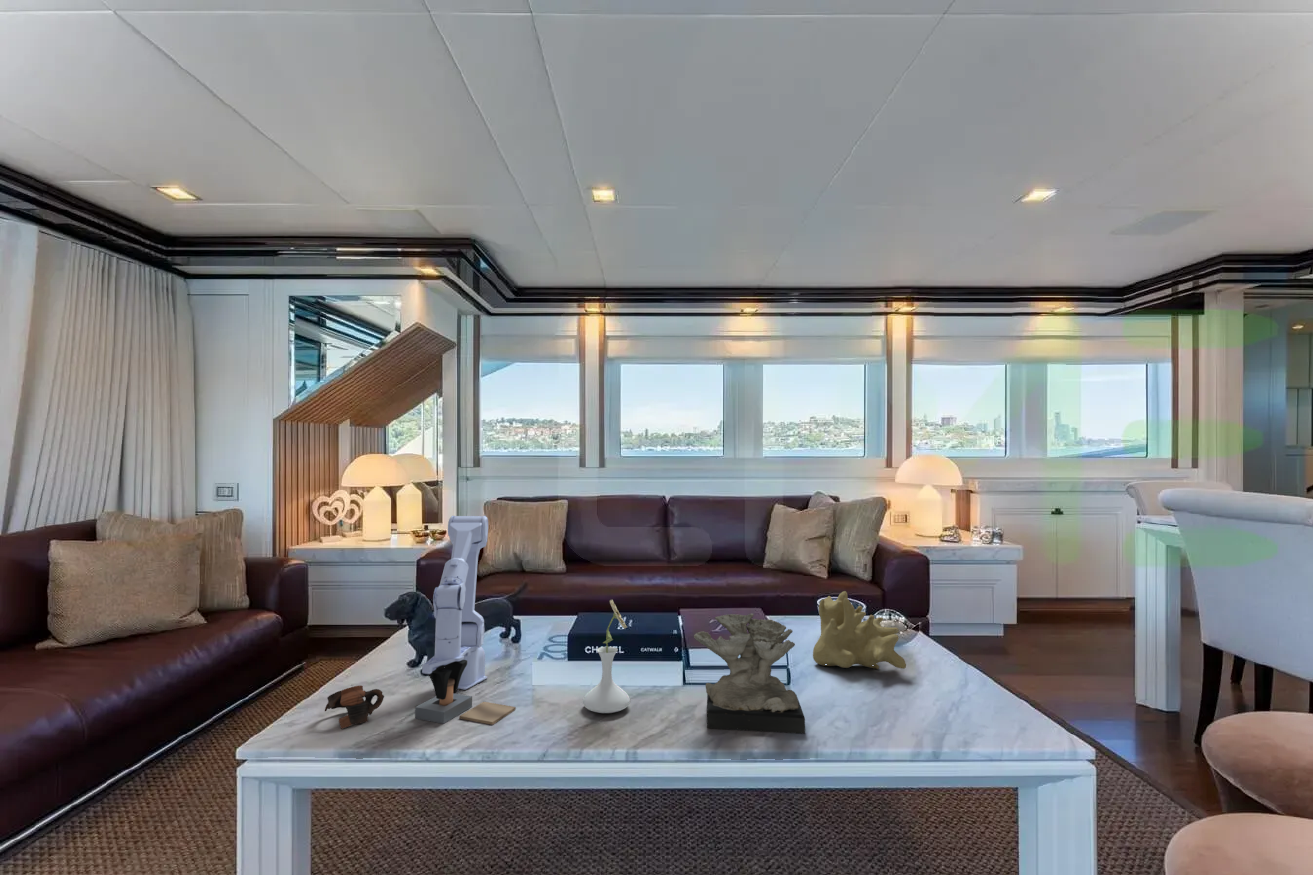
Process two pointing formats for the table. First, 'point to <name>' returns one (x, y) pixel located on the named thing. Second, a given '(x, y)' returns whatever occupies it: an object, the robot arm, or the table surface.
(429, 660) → the robot arm
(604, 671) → the flower in vase
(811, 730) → the table surface
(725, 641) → the coral
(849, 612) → the decorative coral
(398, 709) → the table surface
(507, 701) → the table surface
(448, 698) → the plug
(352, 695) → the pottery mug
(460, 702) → the socket
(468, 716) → the coaster
